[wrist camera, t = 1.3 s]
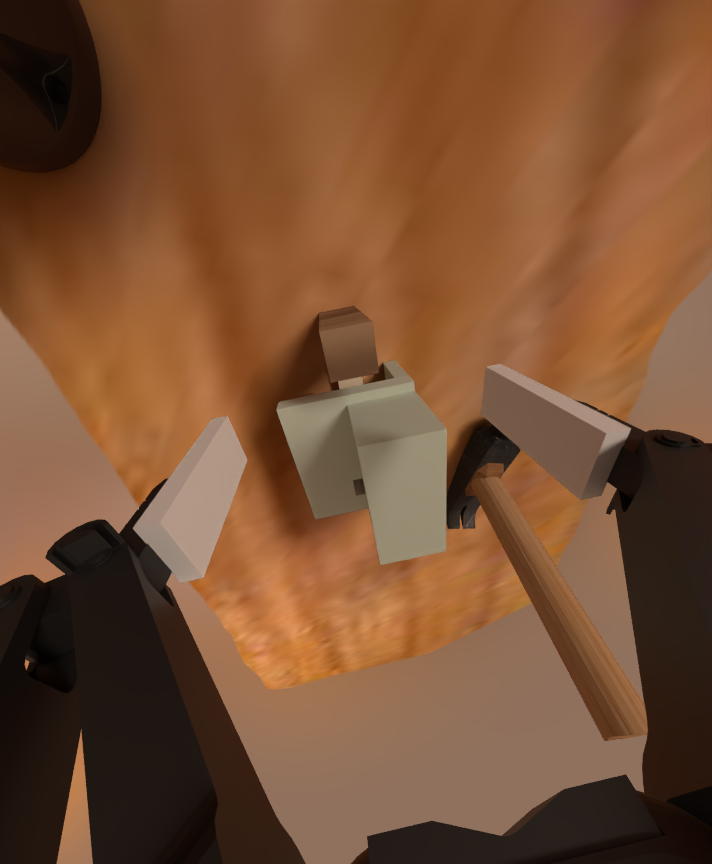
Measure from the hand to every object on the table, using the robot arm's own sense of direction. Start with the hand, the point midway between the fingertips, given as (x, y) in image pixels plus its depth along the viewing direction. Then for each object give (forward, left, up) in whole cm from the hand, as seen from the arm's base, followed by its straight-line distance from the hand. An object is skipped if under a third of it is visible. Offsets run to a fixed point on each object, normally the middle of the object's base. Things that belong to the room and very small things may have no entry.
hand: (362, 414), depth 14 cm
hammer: (+24, +18, -21) cm, 36 cm away
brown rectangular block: (+6, +1, -21) cm, 21 cm away
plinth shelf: (+12, -1, -21) cm, 24 cm away
